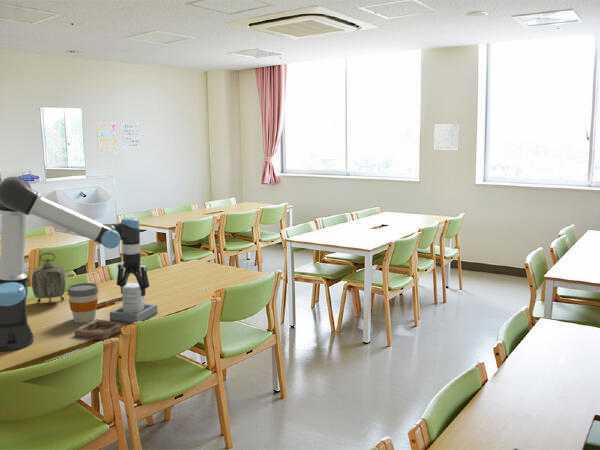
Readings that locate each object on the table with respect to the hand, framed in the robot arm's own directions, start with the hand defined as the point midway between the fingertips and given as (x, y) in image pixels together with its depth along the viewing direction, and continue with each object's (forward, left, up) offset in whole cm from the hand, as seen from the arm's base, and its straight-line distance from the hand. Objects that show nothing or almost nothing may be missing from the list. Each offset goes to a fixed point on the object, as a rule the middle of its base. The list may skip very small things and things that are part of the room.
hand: (133, 301), depth 244 cm
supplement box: (0, 0, -5) cm, 5 cm away
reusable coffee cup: (-10, +19, -7) cm, 23 cm away
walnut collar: (-21, +2, -7) cm, 22 cm away
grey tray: (0, 0, -7) cm, 7 cm away
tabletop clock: (+3, +50, -7) cm, 51 cm away
